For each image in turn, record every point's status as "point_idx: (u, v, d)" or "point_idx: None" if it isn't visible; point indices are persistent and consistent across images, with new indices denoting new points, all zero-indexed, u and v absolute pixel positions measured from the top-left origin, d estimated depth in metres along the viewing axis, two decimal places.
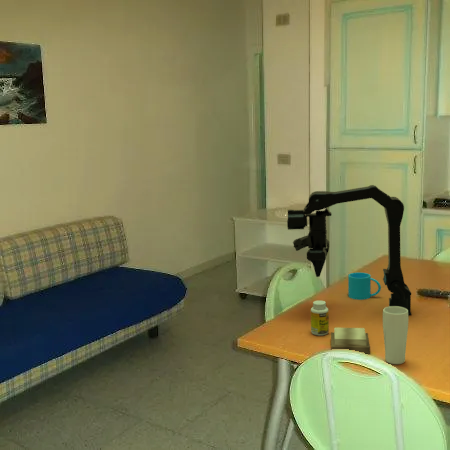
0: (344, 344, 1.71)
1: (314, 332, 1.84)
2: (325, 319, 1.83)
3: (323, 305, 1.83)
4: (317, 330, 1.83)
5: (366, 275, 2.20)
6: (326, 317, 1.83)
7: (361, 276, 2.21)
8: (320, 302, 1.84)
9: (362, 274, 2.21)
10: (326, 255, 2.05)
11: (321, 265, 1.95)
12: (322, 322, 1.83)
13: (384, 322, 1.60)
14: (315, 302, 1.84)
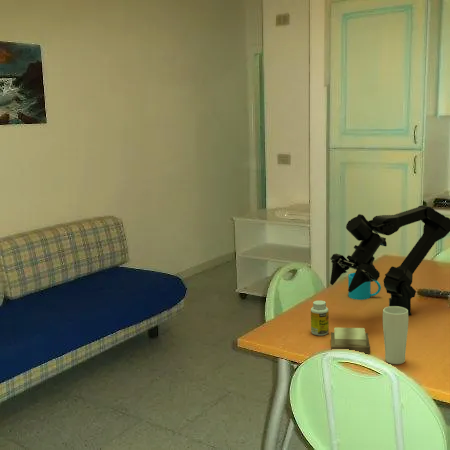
0: (344, 344, 1.71)
1: (314, 332, 1.84)
2: (325, 319, 1.83)
3: (323, 305, 1.83)
4: (317, 330, 1.83)
5: None
6: (326, 317, 1.83)
7: None
8: (320, 302, 1.84)
9: None
10: (354, 275, 1.83)
11: None
12: (322, 322, 1.83)
13: (384, 322, 1.60)
14: (315, 302, 1.84)
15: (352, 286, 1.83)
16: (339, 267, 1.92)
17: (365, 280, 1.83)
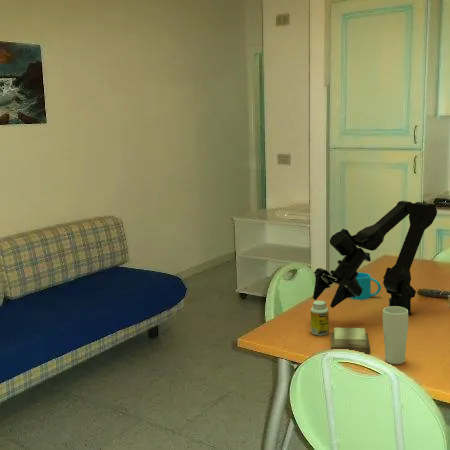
0: (344, 344, 1.71)
1: (314, 332, 1.84)
2: (325, 319, 1.83)
3: (323, 305, 1.83)
4: (317, 330, 1.83)
5: (366, 275, 2.20)
6: (326, 317, 1.83)
7: (361, 276, 2.21)
8: (320, 302, 1.84)
9: (362, 274, 2.21)
10: None
11: None
12: (322, 322, 1.83)
13: (384, 322, 1.60)
14: (315, 302, 1.84)
15: (334, 301, 1.80)
16: (322, 282, 1.90)
17: (348, 296, 1.81)
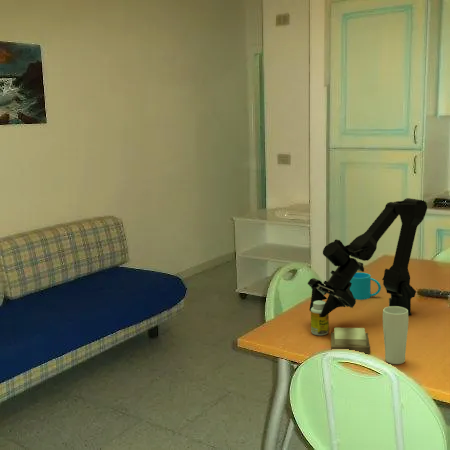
0: (344, 344, 1.71)
1: (314, 332, 1.84)
2: (325, 319, 1.83)
3: (323, 305, 1.83)
4: (317, 330, 1.83)
5: (366, 275, 2.20)
6: (326, 317, 1.83)
7: (361, 276, 2.21)
8: (320, 302, 1.84)
9: (362, 274, 2.21)
10: None
11: None
12: (322, 322, 1.83)
13: (384, 322, 1.60)
14: (315, 302, 1.84)
15: (324, 311, 1.81)
16: (319, 294, 1.88)
17: (338, 305, 1.82)
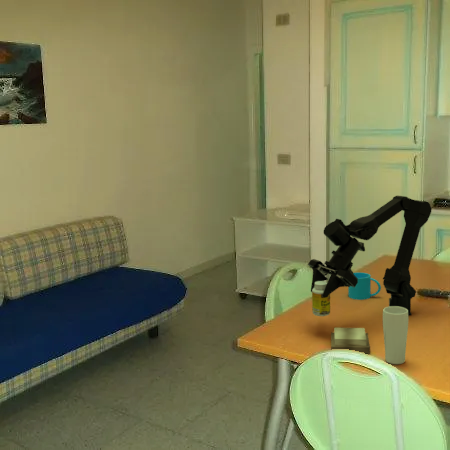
0: (344, 344, 1.71)
1: (316, 313, 1.82)
2: (327, 299, 1.81)
3: (325, 285, 1.81)
4: (319, 311, 1.81)
5: (366, 275, 2.20)
6: (328, 298, 1.81)
7: (361, 276, 2.21)
8: (322, 282, 1.82)
9: (362, 274, 2.21)
10: (328, 280, 1.79)
11: None
12: (324, 302, 1.81)
13: (384, 322, 1.60)
14: (316, 283, 1.82)
15: (326, 291, 1.79)
16: (320, 274, 1.86)
17: (339, 285, 1.80)
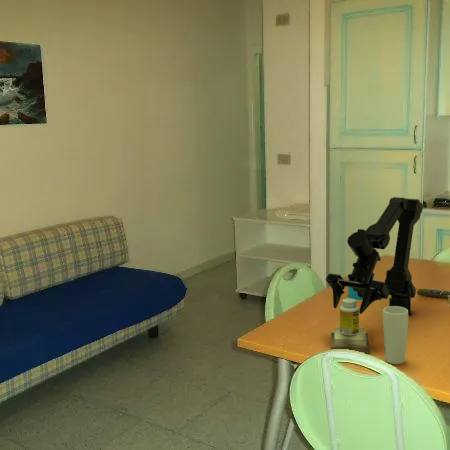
0: (344, 344, 1.71)
1: (347, 333, 1.72)
2: (357, 317, 1.72)
3: (355, 302, 1.72)
4: (351, 330, 1.72)
5: None
6: (358, 315, 1.72)
7: None
8: (350, 300, 1.73)
9: None
10: (364, 294, 1.69)
11: None
12: (356, 320, 1.71)
13: (384, 322, 1.60)
14: (345, 300, 1.72)
15: (363, 307, 1.69)
16: (339, 288, 1.77)
17: (374, 299, 1.71)
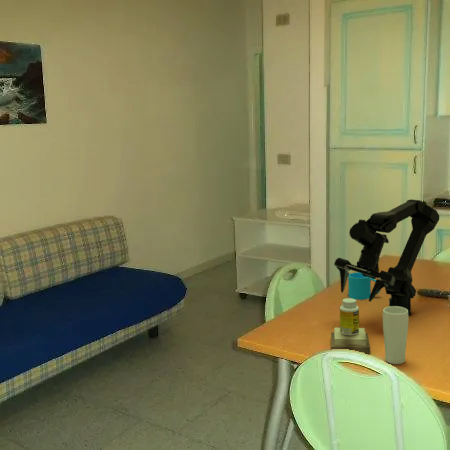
0: (344, 344, 1.71)
1: (347, 333, 1.72)
2: (358, 317, 1.72)
3: (355, 302, 1.72)
4: (351, 330, 1.72)
5: None
6: (358, 315, 1.72)
7: (361, 276, 2.21)
8: (350, 300, 1.73)
9: None
10: (374, 285, 1.80)
11: None
12: (356, 320, 1.71)
13: (384, 322, 1.60)
14: (345, 300, 1.72)
15: (373, 296, 1.81)
16: (346, 273, 1.87)
17: (382, 286, 1.83)
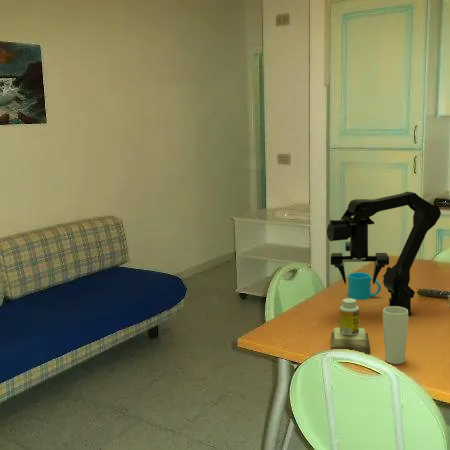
0: (344, 344, 1.71)
1: (347, 333, 1.72)
2: (358, 317, 1.72)
3: (355, 302, 1.72)
4: (351, 330, 1.72)
5: (366, 275, 2.20)
6: (358, 315, 1.72)
7: (361, 276, 2.21)
8: (350, 300, 1.73)
9: (362, 274, 2.21)
10: (374, 271, 1.91)
11: None
12: (356, 320, 1.71)
13: (384, 322, 1.60)
14: (345, 300, 1.72)
15: (375, 279, 1.93)
16: None
17: None
